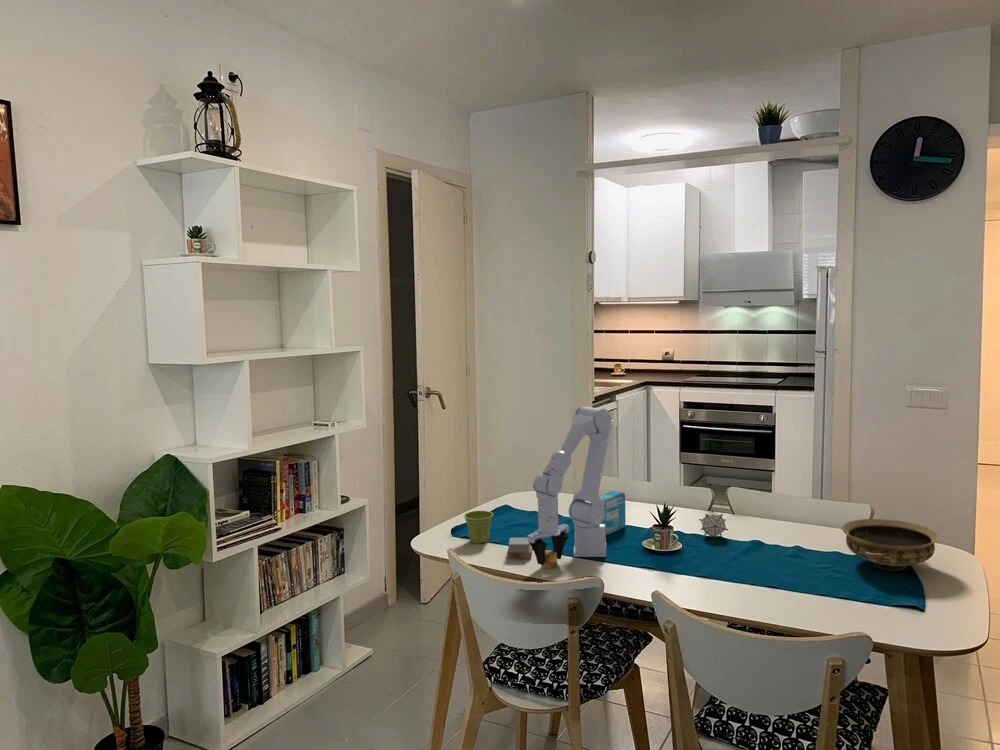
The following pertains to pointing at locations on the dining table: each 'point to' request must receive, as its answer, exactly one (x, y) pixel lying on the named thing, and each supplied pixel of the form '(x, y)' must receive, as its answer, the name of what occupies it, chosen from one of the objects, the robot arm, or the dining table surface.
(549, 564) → the golden brown cylinder
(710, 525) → the grey spiked ball
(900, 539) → the ceramic bowl
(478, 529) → the plant pot
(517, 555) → the walnut base block
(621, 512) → the data package
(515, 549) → the grey painted block
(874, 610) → the dining table surface
